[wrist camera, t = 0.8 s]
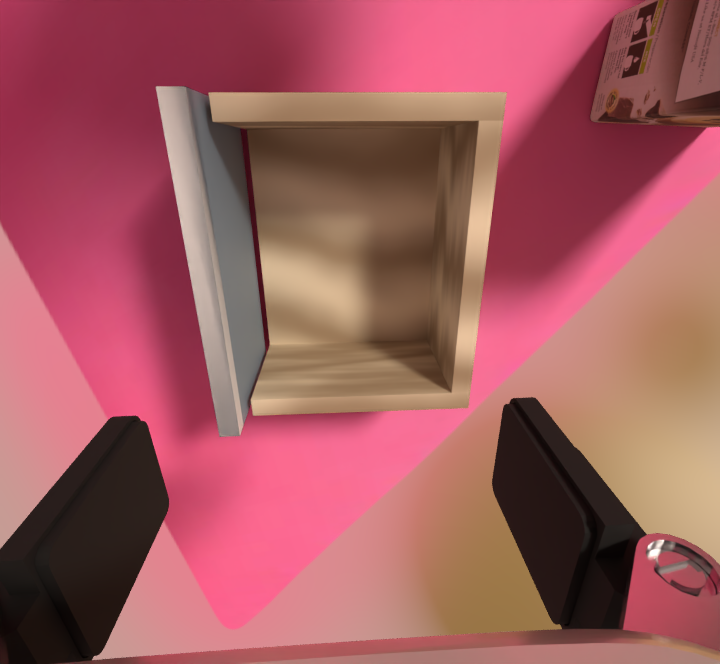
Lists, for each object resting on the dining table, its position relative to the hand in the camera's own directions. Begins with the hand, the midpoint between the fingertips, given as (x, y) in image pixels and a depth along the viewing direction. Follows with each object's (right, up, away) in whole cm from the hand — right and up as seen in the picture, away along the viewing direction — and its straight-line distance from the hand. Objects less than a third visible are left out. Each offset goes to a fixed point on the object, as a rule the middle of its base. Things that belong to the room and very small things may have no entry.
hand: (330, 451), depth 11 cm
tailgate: (-8, +9, +19) cm, 22 cm away
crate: (0, +10, +20) cm, 22 cm away
